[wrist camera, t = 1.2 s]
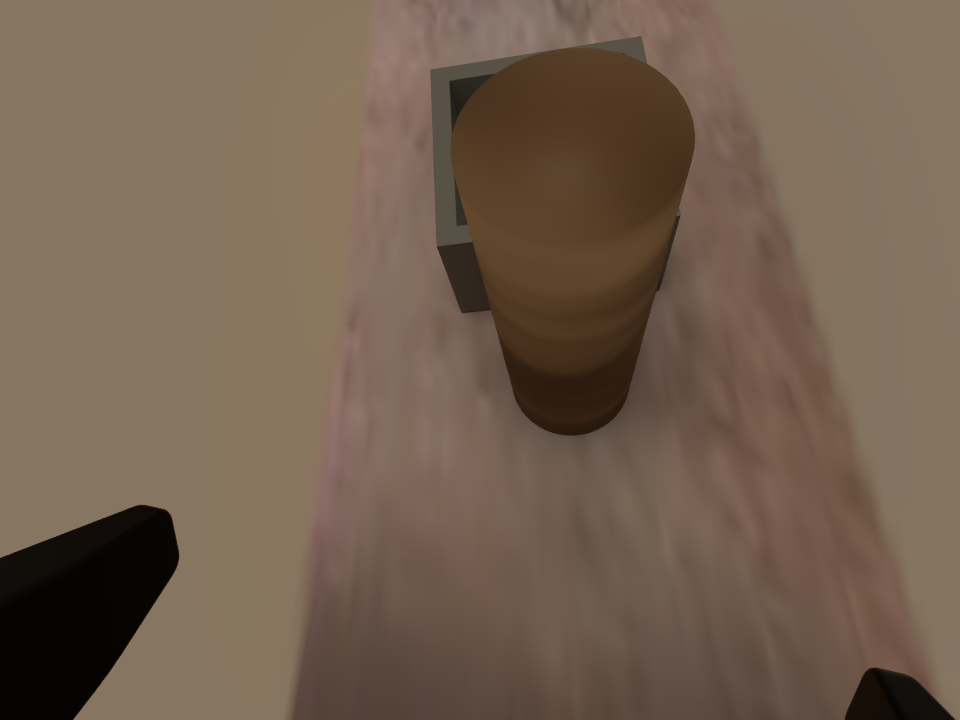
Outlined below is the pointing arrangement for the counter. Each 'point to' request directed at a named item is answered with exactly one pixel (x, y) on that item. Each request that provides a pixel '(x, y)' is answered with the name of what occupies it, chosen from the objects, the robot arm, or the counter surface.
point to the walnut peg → (572, 220)
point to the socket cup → (451, 224)
